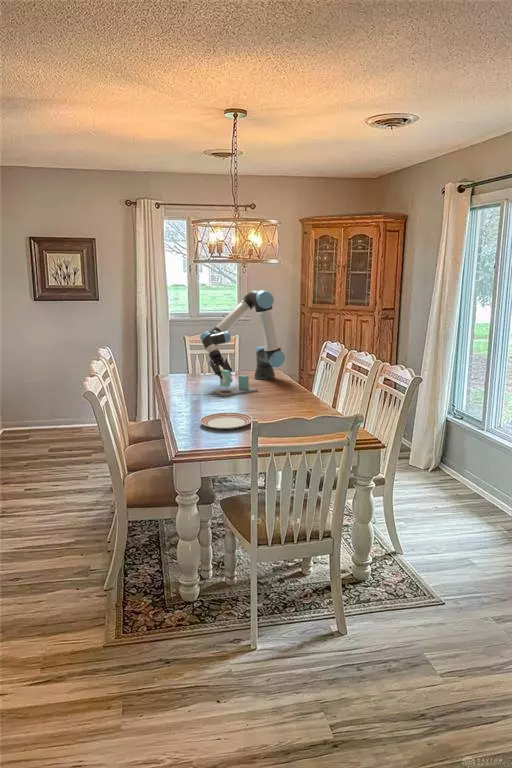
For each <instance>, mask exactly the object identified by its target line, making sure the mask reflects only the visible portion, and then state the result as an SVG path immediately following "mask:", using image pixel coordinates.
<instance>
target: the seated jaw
mask: <svg viewBox="0 0 512 768" xmlns="http://www.w3.org/2000/svg"><path fill="white" fill-rule="evenodd" d="M249 385H250V383H249V375H247V374H241V375H238V387H239V389H241V390H246V389H249V387H250V386H249Z"/></svg>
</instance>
